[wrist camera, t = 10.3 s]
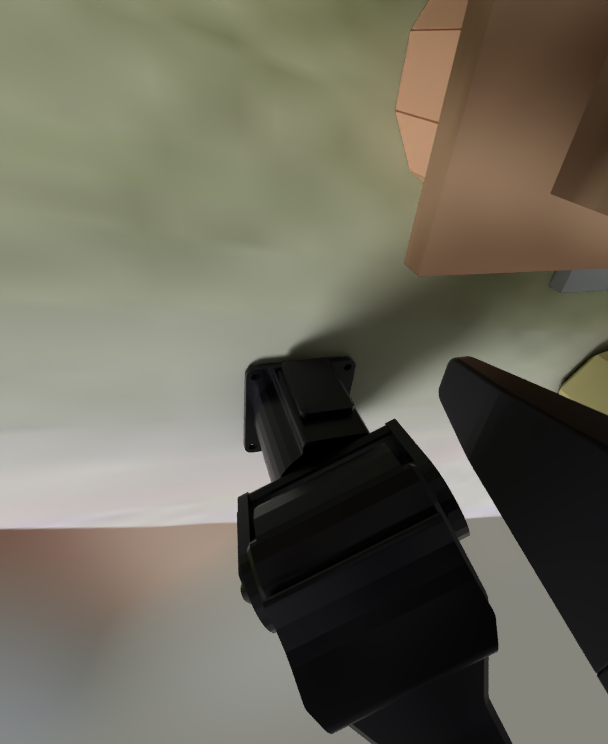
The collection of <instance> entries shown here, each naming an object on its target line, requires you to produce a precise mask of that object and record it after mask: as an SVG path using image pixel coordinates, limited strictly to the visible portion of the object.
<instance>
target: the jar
mask: <svg viewBox="0 0 608 744" xmlns="http://www.w3.org/2000/svg"><path fill="white" fill-rule="evenodd" d="M559 394H560V395H562V396H564V397H567V398H569V399H571V400H574V401H576V402H578V403H581V404H583V405H585V406H588V407H590V408H592V409H595V410H597V411H599V412H602V413H604V414H606V415H608V351H606V352H603V353H601V354H598V355H595V356H593V357H591V358H590V359H589V360H588V361H587V362H585V363H584V364H583V365H582V366H581V367H580V368H579V369H578V370H577V371H576V372H575V373H574V374H573V375H572V376H570V377H569V378H568V379H567V380H566V381H565V382H564V383H563V385H562V387H561V389H560V391H559Z"/></svg>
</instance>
